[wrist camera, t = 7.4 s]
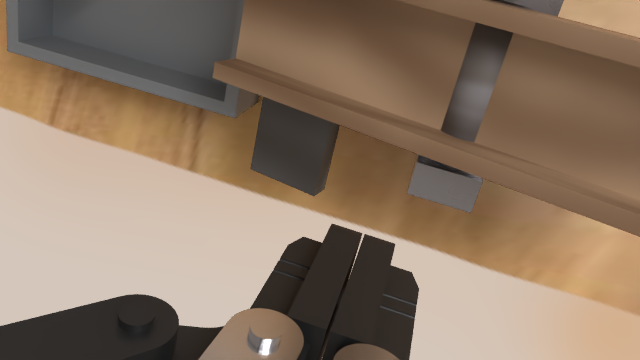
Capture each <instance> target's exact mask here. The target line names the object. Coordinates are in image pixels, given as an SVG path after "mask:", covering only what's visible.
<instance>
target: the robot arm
mask: <svg viewBox="0 0 640 360" xmlns="http://www.w3.org/2000/svg"><path fill="white" fill-rule="evenodd" d="M361 236H362V233H360V232H356V231H353V230H350V229H347V228H344V227H341V226H338V225H335V224H332V225H331V226H330V228H329V230H328V233H327V235H326V237H325V239H324V241H323V243H321V242H318V241H315V240H312V239H309V238H306V237H302V238H301V239H298V240H297V241H295V242H293V243H291V244H289V245H288V246H287V248H286V249H285V251H284V253H283V254H282V256H281V258H280V261H278V263H277V265H276V266H275V268H274V270H273V272H272V273H271V275H270V276H269V278H268V280H267V281H266V283H265V285H264V286H263V288H262V290H261V291H260V293H259V295H258V296H257V298H256V300H255V301H254V303H253V305H252V306H251V308H250V309H247V310H244V311H241V312H239V313H237V314H235V315H234V316H233V317H232V318H231V319H230V320H229V321H228V322H227V323H226V325H225V326H223V327H217V328H200V327H191V326H180V325H179V319H178V315H177V314H176V311H175V310H174V309H173V308H172V306H170V305H169V304H168V303H166V302H165V301H163V300H161V299H159V298H156V297H153V296H148V295H138V294H137V295H136V294H135V295H125V296H120V297H116V298H112V299H108V300H105V301H100V302H96V303H92V304H88V305H84V306H80V307H76V308H72V309H68V310H64V311H60V312H56V313H52V314H48V315H44V316H40V317H36V318H32V319H28V320H23V321H19V322H15V323H11V324H8V325H4V326H0V360H409V356H410V349H411V341H412V335H413V328H414V318H415V313H416V305H417V299H418V292H419V288H418V285H417V283H416V281H415V279H414V277H413V274H412V272H409V271H406V270H403V269H399V268H397V267H394V266H391V265H390V264H391V260H392V256H393V252H394V247H395V244H394V243H391V242H388V241H384V240H381V239H378V238H375V237H372V236H369V235H366V234H365V235H364V238H363V241H362V243H361V246H360V249H359V252H358V255H357V258H356V260H355V256H356V253H357V250H358V246H359V243H360V239H361ZM354 260H355V263H354ZM353 263H354V266H353ZM352 266H353V269H352ZM351 269H352V272H351ZM350 273H351V274H350ZM349 276H350V277H349ZM348 279H349V280H348ZM322 357H323V358H322Z"/></svg>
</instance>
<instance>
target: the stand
mask: <svg viewBox="0 0 640 360" xmlns="http://www.w3.org/2000/svg"><path fill="white" fill-rule="evenodd" d="M502 1H506V2H510V3H514V4H518V5H521V6H525V7H528V8H531V9H534V10H535V11H537V12H541V13H545V14H549V15H553V16H557V17H558V14H559V11H560V9H561V6H562V4H563V1H564V0H502ZM482 182H483V179H482V178H481V177H478V176H475V175H473V174H470V173H467V172H465V171H462V170H459V169H456V168H454V167H451V166H448V165H446V164H443V163H440V162H438V161H435V160H432V159H430V158H427V157H424V156H422V155H419V154H417V155H416V159H415V163H414V167H413V171H412V175H411V179H410V183H409V187H408V191H407V194H410V195H413V196H417V197H420V198H423V199H427V200H430V201H433V202H437V203H440V204H443V205H446V206H450V207H453V208H456V209H460V210H463V211H466V212H470V213H471V211H472V209H473V206H474V203H475V201H476V198H477V195H478V193H479V190H480V188H481V185H482Z"/></svg>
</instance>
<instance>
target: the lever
mask: <svg viewBox="0 0 640 360" xmlns="http://www.w3.org/2000/svg"><path fill="white" fill-rule="evenodd" d="M213 78H215V79H217V80H220V81H223V82H225V83H228V84H231V85H233V86H236V87H239V88H241V89H244V90H247V91H250V92H252V93H255V94H258V95H260V96H263V102H262V108H261V113H260V119H259V125H258V130H257V136H256V141H255V147H254V152H253V158H252V164H251V169H252V170H254V171H256V172H259V173H261V174H263V175H266V176H268V177H270V178H273V179H275V180H277V181H280V182H282V183H284V184H287V185H289V186H291V187H294V188H296V189H298V190H301V191H303V192H305V193H308V194H310V195H313V196H315V195H316V194H318V193H319V192H321V191H322V190H324V188H325V183H326V179H327V175H328V171H329V167H330V163H331V159H332V155H333V151H334V147H335V143H336V138H337V134H338V130H339V126H340V125H341V126H344V127H346V128H349V129H352V130H354V131H357V132H360V133H362V134H365V135H368V136H370V137H373V138H376V139H379V140H381V141H384V142H387V143H389V144H392V145H395V146H397V147H400V148H403V149H405V150H408V151H411V152H413V153H416V154H419V155H422V156H424V157H427V158H430V159H432V160H435V161H438V162H440V163H443V164H446V165H448V166H451V167H454V168H456V169H459V170H462V171H465V172H467V173H470V174H473V175H475V176H478V177H481V178H483V179H486V180H489V181H491V182H494V183H497V184H499V185H502V186H505V187H508V188H510V189H513V190H516V191H518V192H521V193H524V194H526V195H529V196H532V197H534V198H537V199H540V200H542V201H545V202H548V203H551V204H553V205H556V206H559V207H561V208H564V209H567V210H569V211H572V212H575V213H577V214H580V215H583V216H586V217H588V218H591V219H594V220H596V221H599V222H602V223H604V224H607V225H610V226H612V227H615V228H618V229H620V230H623V231H626V232H629V233H631V234H634V235H637V236H639V237H640V38H637V37H634V36H630V35H626V34H622V33H618V32H614V31H610V30H607V29H603V28H599V27H595V26H591V25H587V24H583V23H580V22H576V21H572V20H568V19H564V18H560V17H557V16H553V15H549V14H545V13H541V12H537V11H535V10H534V9H531V8H528V7H525V6H521V5H518V4H514V3H510V2H506V1H502V0H245V1H244V7H243V14H242V21H241V27H240V34H239V40H238V47H237V53H236V58H235V59H229V60H223V61H218V62H215V64H214V71H213Z"/></svg>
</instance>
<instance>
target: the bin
mask: <svg viewBox="0 0 640 360" xmlns="http://www.w3.org/2000/svg"><path fill="white" fill-rule="evenodd" d="M244 1H245V0H6V9H7V51H9V52H12V53H16V54H19V55H22V56H26V57H29V58H33V59H36V60H39V61H43V62H46V63H50V64H53V65H56V66H60V67H63V68H67V69H70V70H73V71H77V72H80V73H83V74H87V75H90V76H94V77H97V78H100V79H104V80H107V81H111V82H114V83H117V84H121V85H124V86H127V87H131V88H134V89H138V90H141V91H144V92H148V93H151V94H155V95H158V96H161V97H165V98H168V99H172V100H175V101H178V102H182V103H185V104H188V105H192V106H195V107H199V108H202V109H205V110H209V111H212V112H216V113H219V114H222V115H226V116H229V117H232V118H236V117H237V116H239V115H240V114H241V113H243V112H244V111H246V110H247V109H249V108H250V107H252V106H253V105H255V104H256V103H257V102H258V97H259V95H258V94H255V93H252V92H250V91H247V90H244V89H241V88H239V87H236V86H233V85H231V84H228V83H225V82H223V81H220V80H217V79H215V78H213V71H214V64H215V62H218V61H223V60H229V59H235V58H236V53H237V47H238V40H239V34H240V27H241V21H242V14H243V7H244Z"/></svg>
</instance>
